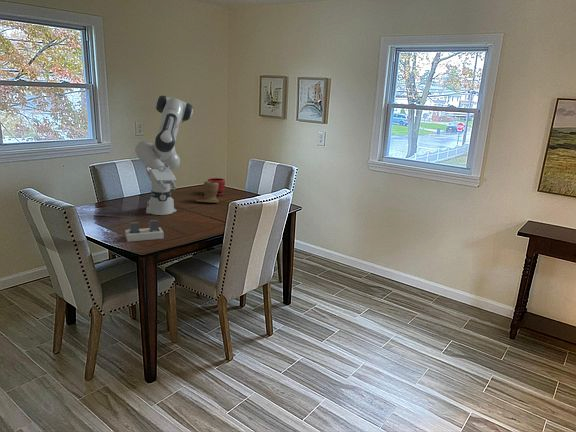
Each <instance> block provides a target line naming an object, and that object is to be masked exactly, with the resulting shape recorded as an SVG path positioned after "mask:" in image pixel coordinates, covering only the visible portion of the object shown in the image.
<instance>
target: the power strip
mask: <svg viewBox="0 0 576 432" xmlns="http://www.w3.org/2000/svg"><path fill="white" fill-rule="evenodd" d="M139 227H140V225H139V221H130V222H129V227H128V228H127V229H125V238H126V240H127V242H128V243H129V242H141V241H151V240H163V239H164V237H165V235H164V234H165V233H164V231H163V229H162V227H160V226H159V231H156V232H150V227H147V228H139Z"/></svg>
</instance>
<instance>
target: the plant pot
mask: <svg viewBox="0 0 576 432" xmlns="http://www.w3.org/2000/svg"><path fill="white" fill-rule="evenodd" d="M207 181H209V182H216V183H218V184H219V187H218V192H217V195H220V196H223V195H224V194H225V192H224V190H225V187H226V186H225V185H226V179H224V178H219V177H217V178H216V177H214V178H213V177H211V178H208V179H207ZM217 195H216V197H218V196H217Z"/></svg>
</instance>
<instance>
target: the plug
mask: <svg viewBox="0 0 576 432" xmlns="http://www.w3.org/2000/svg"><path fill="white" fill-rule="evenodd" d="M159 227H160V226H159V220H158V219H149V228H150V232H156V231H159Z"/></svg>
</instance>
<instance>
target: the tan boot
mask: <svg viewBox="0 0 576 432" xmlns="http://www.w3.org/2000/svg"><path fill="white" fill-rule="evenodd" d="M218 187H219V184H218V183H216V182H209V181H208V180H205V181H204V182H203V192H204V193H203V196H199V197H197V198H196V202H197V203H209V204H210V203H211V204H214V203H215V204H217V203H219V202H220V200H219V199H218V198H217V196H216V195H217V192H218Z"/></svg>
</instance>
